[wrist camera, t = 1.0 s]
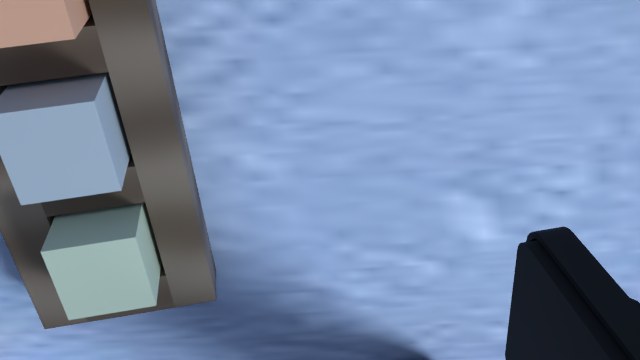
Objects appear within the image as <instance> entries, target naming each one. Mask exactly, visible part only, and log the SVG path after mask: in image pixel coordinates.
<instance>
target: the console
mask: <svg viewBox="0 0 640 360" xmlns="http://www.w3.org/2000/svg"><path fill="white" fill-rule="evenodd" d="M88 1H89V4H90V8H91V11H92V14H91V16H90V17H89V19H88V20H87V22H86V23H85V25H84V26H83V28H82V29H81V31H80V32H79V34H78V36H77V37H76V39H70V40H62V41H54V42H46V43H38V44H30V45H22V46H14V47H6V48H0V95H1V94H2V93H3V91H4V90H5V89H6V88H7V86H8V85H12V84H20V83H27V82H35V81H43V80H50V79H58V78H66V77H74V76H81V75H89V74H97V73H105V72H109V75H110V79H111V82H112V86H113V89H114V93H115V97H116V100H117V104H118V107H119V111H120V114H121V118H122V121H123V125H124V128H125V132H126V136H127V139H128V143H129V146H130V150H131V155H130V159H129V162H128V166H127V170H126V174H125V178H124V182H123V186H122V190H121V191H115V192H109V193H102V194H95V195H88V196H82V197H75V198H68V199H61V200H54V201H48V202H41V203H34V204H27V205H21V204H20V202H19V199H18V197H17V194H16V192H15V190H14V187H13V185H12V182H11V180H10V178H9V175H8V173H7V170H6V168H5V165H4V163H3V161H2V158H1V156H0V231H1V233H2V235H3V237H4V240H5V242H6V244H7V246H8V248H9V251H10V253H11V255H12V257H13V260H14V262H15V264H16V266H17V269H18V271H19V273H20V275H21V277H22V280H23V282H24V284H25V286H26V289H27V291H28V293H29V295H30V297H31V300H32V302H33V304H34V306H35V309H36V311H37V313H38V315H39V318H40V320H41V322H42V324H43V326H44V329H49V328H55V327H61V326H67V325H73V324H79V323H85V322H91V321H97V320H103V319H109V318H115V317H121V316H127V315H133V314H139V313H145V312H151V311H157V310H163V309H169V308H175V307H181V306H187V305H193V304H199V303H205V302H211V301H216V269H215V265H214V260H213V256H212V251H211V247H210V242H209V238H208V233H207V229H206V224H205V220H204V216H203V211H202V207H201V202H200V198H199V193H198V189H197V184H196V180H195V175H194V171H193V166H192V162H191V157H190V153H189V148H188V144H187V139H186V135H185V130H184V126H183V121H182V117H181V112H180V108H179V104H178V99H177V95H176V90H175V86H174V81H173V77H172V72H171V68H170V63H169V59H168V54H167V50H166V45H165V41H164V36H163V32H162V27H161V23H160V18H159V14H158V9H157V5H156V0H88ZM143 202H145V203H146V207H147V210H148V214H149V217H150V221H151V224H152V228H153V231H154V235H155V238H156V242H157V246H158V249H159V253H160V256H161V260H162V262H161V270H160V279H159V287H158V295H157V304H156V306H152V307H146V308H140V309H134V310H128V311H122V312H116V313H110V314H104V315H97V316H91V317H85V318H79V319H73V320H68V317H67V315H66V312H65V310H64V308H63V305H62V303H61V300H60V298H59V296H58V293H57V291H56V288H55V286H54V284H53V281H52V279H51V276H50V274H49V272H48V269H47V267H46V264H45V262H44V259H43V257H42V255H41V249H42V247H43V245H44V242H45V240H46V237H47V235H48V232H49V230H50V227H51V225H52V223H53V220H54V218H55V216H56V215H62V214H69V213H76V212H82V211H89V210H96V209H102V208H109V207H116V206H122V205H129V204H136V203H143Z"/></svg>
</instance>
